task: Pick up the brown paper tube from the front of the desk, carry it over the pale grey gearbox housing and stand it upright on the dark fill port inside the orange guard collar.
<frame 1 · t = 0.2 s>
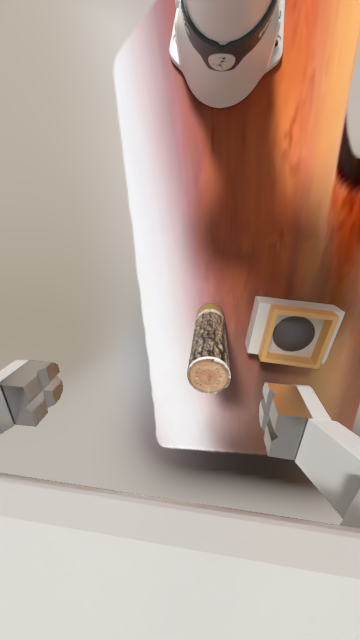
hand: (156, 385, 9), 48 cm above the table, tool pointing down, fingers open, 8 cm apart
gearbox: (286, 324, 57), on the table
paper tube: (210, 315, 59), on the table
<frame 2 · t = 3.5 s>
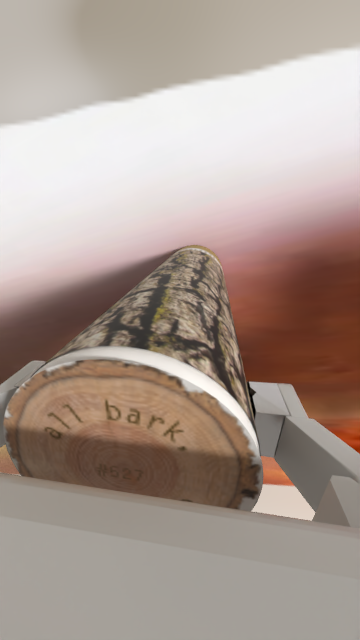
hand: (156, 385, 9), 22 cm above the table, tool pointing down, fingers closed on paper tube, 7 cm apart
paper tube: (194, 272, 29), on the table, touching gripper
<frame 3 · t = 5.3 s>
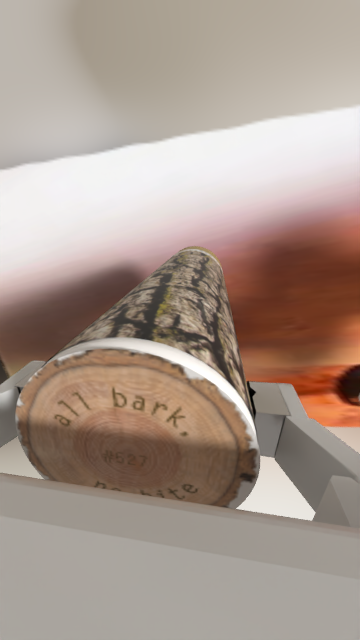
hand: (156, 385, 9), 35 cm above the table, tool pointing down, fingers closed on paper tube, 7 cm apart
paper tube: (195, 273, 29), point 13 cm above the table, touching gripper
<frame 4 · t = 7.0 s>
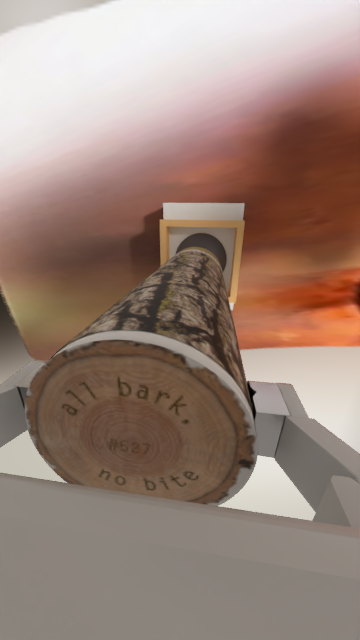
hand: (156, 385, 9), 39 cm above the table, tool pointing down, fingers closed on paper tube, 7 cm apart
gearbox: (201, 256, 45), on the table
paper tube: (195, 273, 30), point 17 cm above the table, touching gripper
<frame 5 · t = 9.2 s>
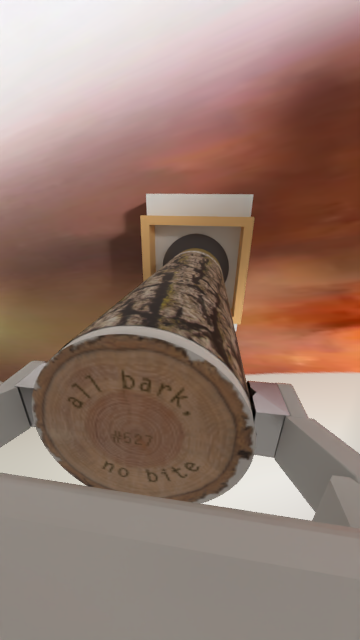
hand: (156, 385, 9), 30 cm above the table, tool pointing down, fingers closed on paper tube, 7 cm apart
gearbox: (197, 262, 36), on the table
paper tube: (195, 274, 30), point 7 cm above the table, touching gripper
when the fingers open (28 cm above the table, at t = 10.7 s): paper tube stays where it is, resting on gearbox.
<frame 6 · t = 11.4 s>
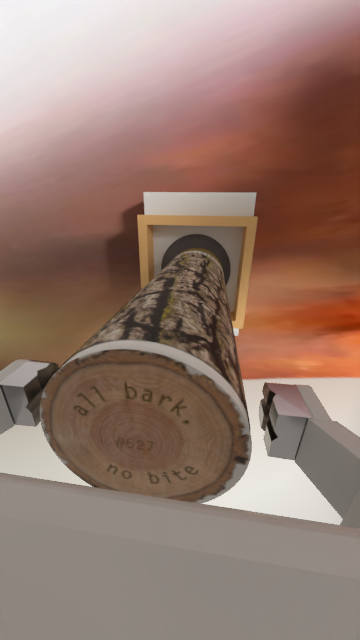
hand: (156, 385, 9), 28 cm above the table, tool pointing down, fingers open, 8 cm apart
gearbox: (197, 264, 35), on the table
paper tube: (196, 273, 30), point 5 cm above the table, touching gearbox
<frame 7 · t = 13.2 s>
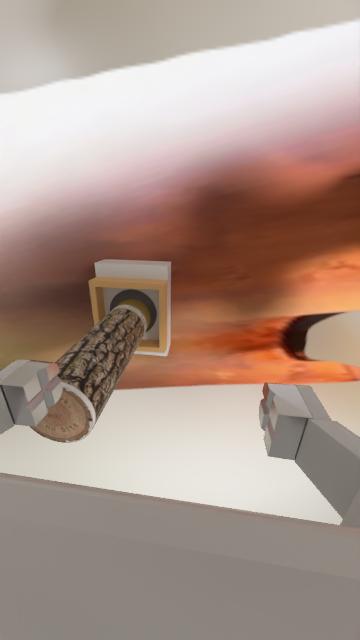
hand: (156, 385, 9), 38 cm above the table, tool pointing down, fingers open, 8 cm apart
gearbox: (139, 304, 48), on the table
paper tube: (134, 314, 44), point 5 cm above the table, touching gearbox
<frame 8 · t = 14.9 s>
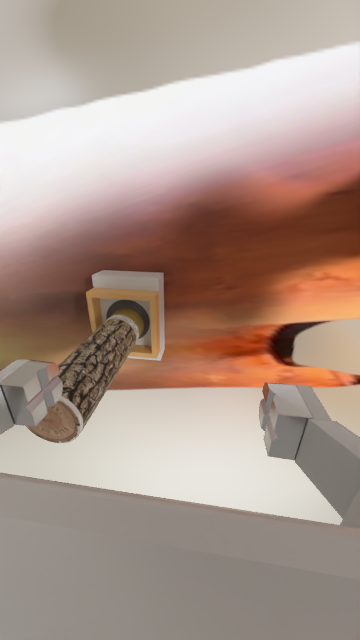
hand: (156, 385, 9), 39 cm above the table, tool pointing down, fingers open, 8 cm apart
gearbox: (135, 311, 51), on the table
paper tube: (129, 322, 47), point 5 cm above the table, touching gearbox
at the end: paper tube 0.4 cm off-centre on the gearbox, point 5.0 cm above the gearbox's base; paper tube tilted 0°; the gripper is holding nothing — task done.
